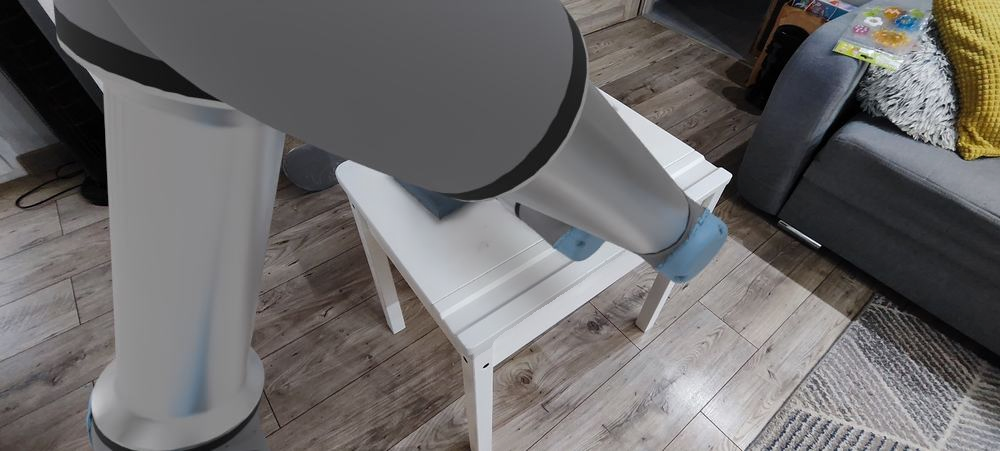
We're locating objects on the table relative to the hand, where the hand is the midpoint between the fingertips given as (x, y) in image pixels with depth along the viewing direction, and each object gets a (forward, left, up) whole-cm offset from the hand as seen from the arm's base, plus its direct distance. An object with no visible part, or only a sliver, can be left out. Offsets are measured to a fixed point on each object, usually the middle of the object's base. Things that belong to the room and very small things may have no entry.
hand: (418, 108), depth 76 cm
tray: (+9, -1, -18) cm, 20 cm away
